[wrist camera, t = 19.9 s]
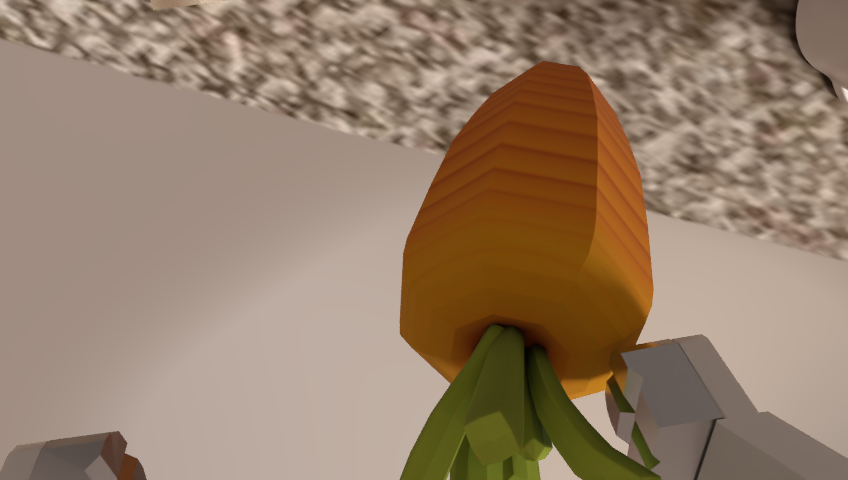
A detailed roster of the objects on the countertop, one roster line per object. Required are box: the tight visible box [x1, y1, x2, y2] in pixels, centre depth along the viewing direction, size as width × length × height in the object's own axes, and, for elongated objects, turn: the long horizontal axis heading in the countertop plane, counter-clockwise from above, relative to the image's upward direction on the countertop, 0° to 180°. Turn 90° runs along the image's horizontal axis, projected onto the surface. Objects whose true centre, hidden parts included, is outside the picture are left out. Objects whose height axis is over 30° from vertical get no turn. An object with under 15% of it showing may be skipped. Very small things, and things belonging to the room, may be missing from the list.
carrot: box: [400, 61, 661, 480], centre depth 14 cm, size 5×5×15 cm
